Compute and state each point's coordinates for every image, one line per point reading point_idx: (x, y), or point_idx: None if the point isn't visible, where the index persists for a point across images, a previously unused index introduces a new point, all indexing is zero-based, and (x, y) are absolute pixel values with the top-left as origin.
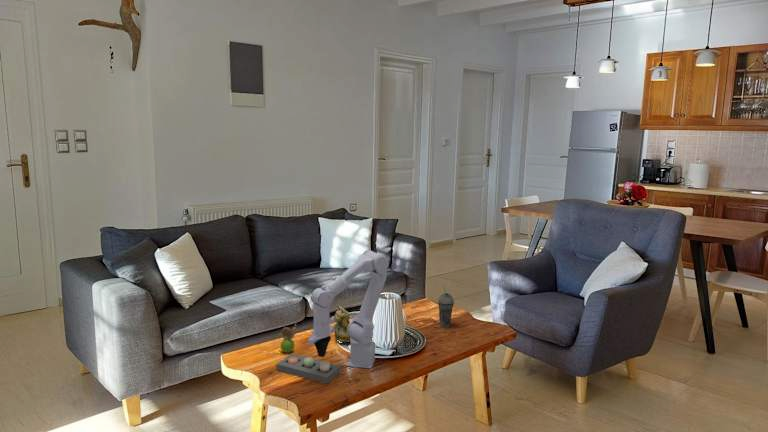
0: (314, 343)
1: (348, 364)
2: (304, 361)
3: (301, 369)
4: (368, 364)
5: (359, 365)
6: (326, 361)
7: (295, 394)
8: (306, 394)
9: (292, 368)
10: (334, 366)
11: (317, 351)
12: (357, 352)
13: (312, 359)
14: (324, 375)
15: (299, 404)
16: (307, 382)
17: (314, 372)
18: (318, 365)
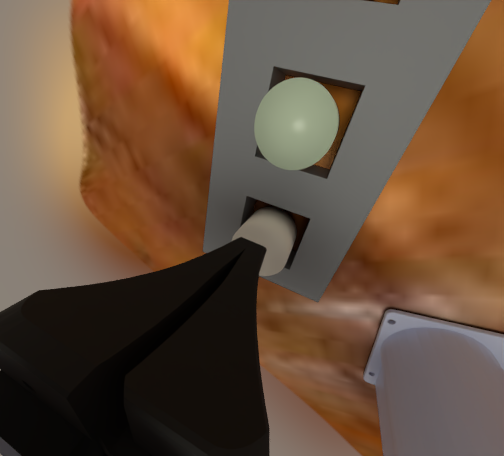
0: (101, 292)
1: (393, 317)
2: (264, 99)
3: (231, 99)
4: (377, 384)
5: (380, 353)
6: (284, 259)
7: (117, 141)
8: (136, 181)
9: (229, 13)
10: (308, 276)
11: (213, 252)
12: (393, 422)
13: (295, 162)
14: (213, 240)
15: (89, 176)
16: (202, 159)
17: (223, 191)
18: (305, 194)
